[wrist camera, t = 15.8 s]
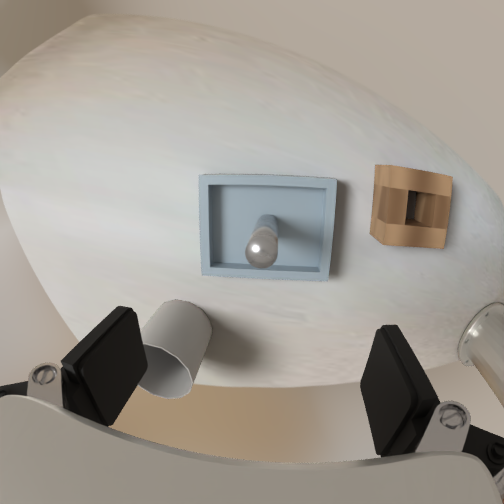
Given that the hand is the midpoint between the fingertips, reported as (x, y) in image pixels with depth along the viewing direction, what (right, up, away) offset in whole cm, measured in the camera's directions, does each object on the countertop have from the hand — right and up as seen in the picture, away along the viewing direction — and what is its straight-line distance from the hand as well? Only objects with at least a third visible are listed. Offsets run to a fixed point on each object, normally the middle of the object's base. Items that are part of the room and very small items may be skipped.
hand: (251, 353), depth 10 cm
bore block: (+18, +9, +18) cm, 27 cm away
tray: (+2, +7, +21) cm, 22 cm away
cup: (-9, -6, +26) cm, 29 cm away
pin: (+2, +7, +20) cm, 21 cm away
